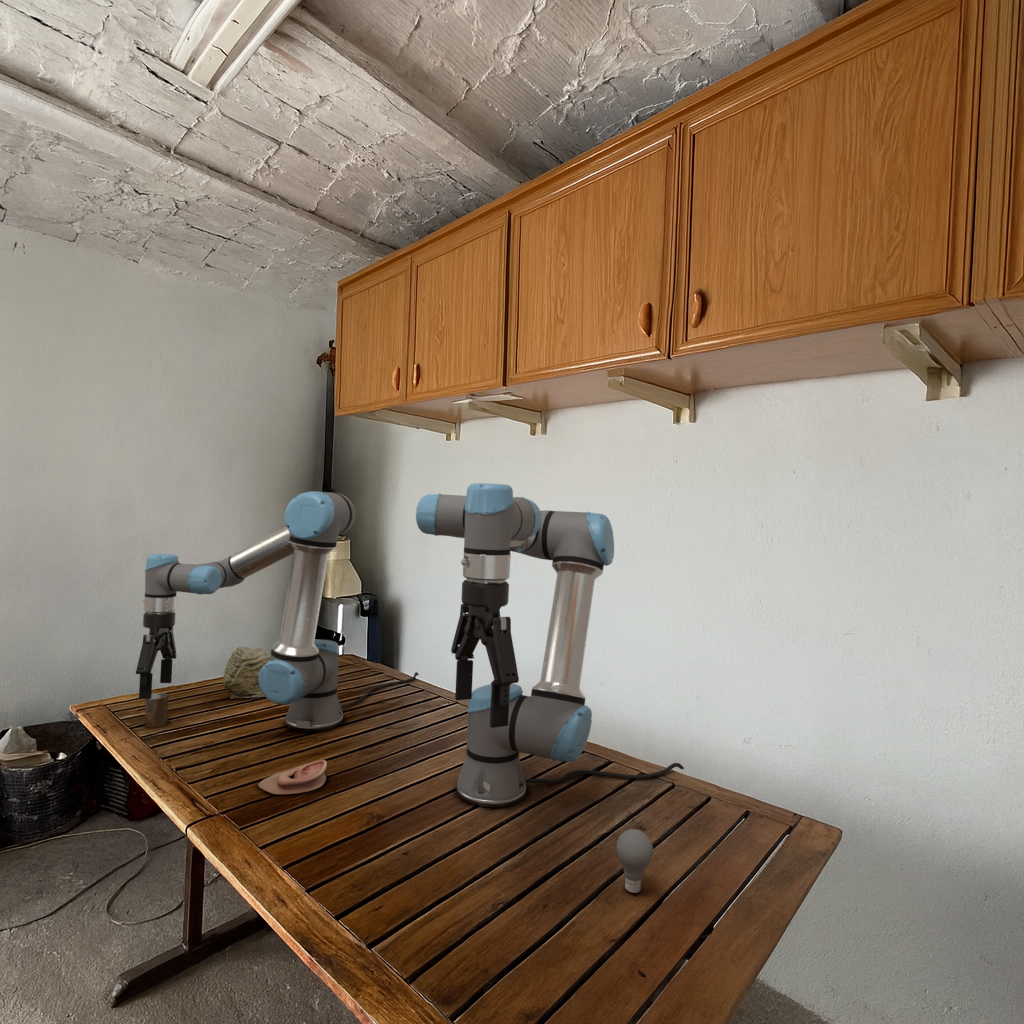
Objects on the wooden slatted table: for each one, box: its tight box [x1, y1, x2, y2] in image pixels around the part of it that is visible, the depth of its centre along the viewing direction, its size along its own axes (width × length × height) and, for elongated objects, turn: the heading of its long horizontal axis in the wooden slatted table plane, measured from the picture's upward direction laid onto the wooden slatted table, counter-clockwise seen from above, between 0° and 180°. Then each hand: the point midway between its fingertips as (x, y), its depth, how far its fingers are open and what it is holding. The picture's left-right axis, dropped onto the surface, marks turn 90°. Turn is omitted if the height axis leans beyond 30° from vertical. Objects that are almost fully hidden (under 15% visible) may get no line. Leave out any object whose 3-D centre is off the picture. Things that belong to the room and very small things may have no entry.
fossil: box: [222, 646, 270, 699], centre depth 198 cm, size 9×18×15 cm, turn 132°
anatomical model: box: [257, 759, 328, 795], centre depth 139 cm, size 13×4×12 cm
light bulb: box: [615, 828, 654, 894], centre depth 106 cm, size 6×6×10 cm
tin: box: [144, 692, 169, 729], centre depth 170 cm, size 5×5×8 cm
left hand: (155, 690), depth 170 cm, fingers open, 13 cm apart
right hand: (480, 712), depth 102 cm, fingers open, 13 cm apart
